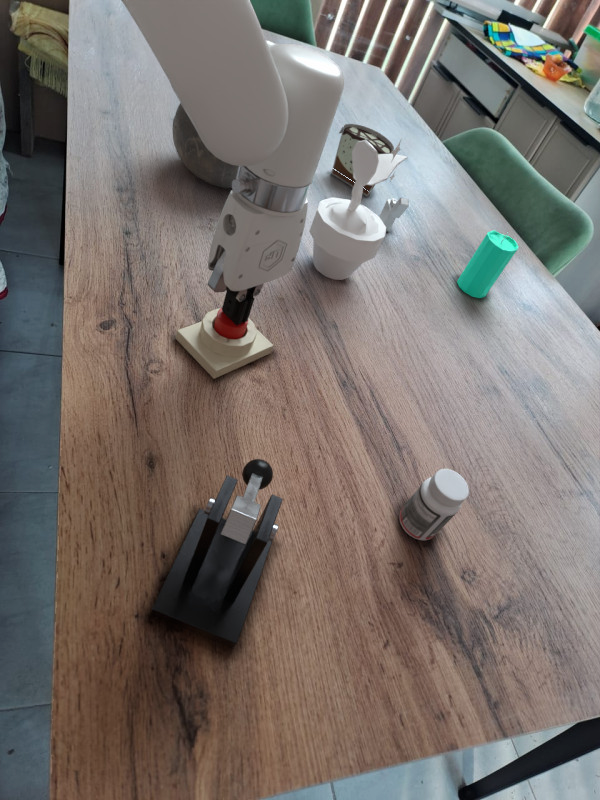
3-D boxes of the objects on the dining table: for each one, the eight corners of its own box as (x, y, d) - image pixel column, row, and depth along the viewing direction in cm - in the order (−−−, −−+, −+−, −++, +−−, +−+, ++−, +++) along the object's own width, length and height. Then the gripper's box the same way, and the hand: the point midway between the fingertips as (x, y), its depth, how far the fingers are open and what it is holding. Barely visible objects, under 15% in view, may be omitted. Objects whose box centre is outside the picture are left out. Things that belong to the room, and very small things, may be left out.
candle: (491, 292, 107) (528, 238, 98) (477, 302, 103) (515, 246, 94) (465, 273, 109) (500, 219, 100) (451, 282, 105) (486, 226, 96)
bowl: (198, 209, 95) (213, 135, 86) (148, 151, 102) (157, 77, 93) (282, 201, 105) (303, 135, 96) (232, 149, 112) (247, 83, 103)
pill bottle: (431, 507, 68) (467, 468, 62) (439, 543, 65) (477, 506, 59) (395, 502, 67) (428, 461, 61) (401, 539, 63) (436, 500, 58)
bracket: (197, 514, 58) (223, 439, 49) (270, 544, 58) (309, 475, 49) (149, 614, 50) (171, 547, 41) (234, 648, 50) (273, 589, 41)
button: (227, 343, 71) (230, 331, 69) (207, 323, 72) (210, 311, 71) (250, 333, 73) (254, 322, 72) (231, 314, 75) (234, 302, 73)
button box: (213, 379, 71) (219, 359, 68) (175, 338, 73) (179, 318, 71) (271, 353, 77) (278, 334, 74) (233, 316, 79) (239, 297, 77)
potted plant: (323, 296, 89) (389, 143, 72) (285, 251, 94) (337, 98, 77) (380, 286, 96) (453, 145, 79) (342, 244, 101) (402, 103, 84)
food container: (386, 193, 121) (406, 148, 114) (373, 200, 117) (393, 154, 110) (339, 163, 123) (356, 118, 116) (325, 170, 119) (342, 123, 112)
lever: (240, 475, 58) (251, 450, 57) (267, 487, 58) (278, 461, 57) (214, 535, 45) (227, 503, 44) (249, 549, 45) (263, 518, 45)
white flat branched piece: (378, 218, 112) (395, 181, 107) (386, 220, 113) (403, 183, 107) (383, 238, 108) (401, 200, 102) (391, 240, 108) (410, 203, 103)
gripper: (242, 216, 53) (206, 355, 66) (343, 193, 62) (294, 318, 75) (192, 173, 55) (167, 315, 68) (297, 156, 64) (257, 284, 77)
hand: (234, 316), depth 71 cm, fingers closed
